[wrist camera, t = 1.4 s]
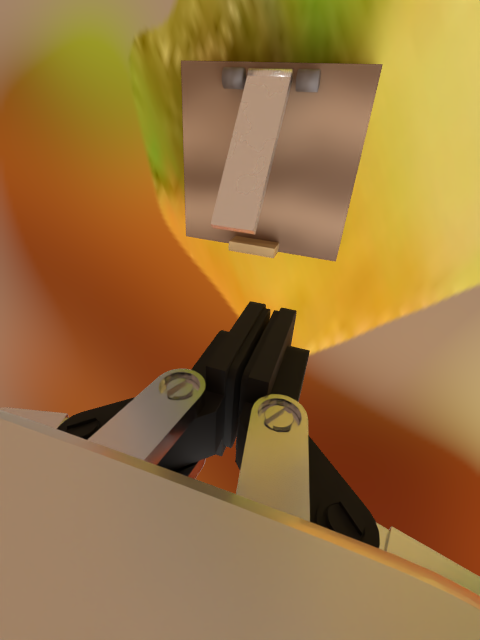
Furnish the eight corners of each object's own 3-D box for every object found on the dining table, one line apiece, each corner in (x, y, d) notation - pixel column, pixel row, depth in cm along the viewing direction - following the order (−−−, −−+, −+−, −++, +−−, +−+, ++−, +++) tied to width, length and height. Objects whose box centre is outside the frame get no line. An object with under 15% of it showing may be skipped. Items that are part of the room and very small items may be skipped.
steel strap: (251, 75, 22) (249, 64, 21) (293, 76, 21) (292, 65, 20) (213, 228, 21) (209, 223, 21) (255, 234, 21) (253, 230, 20)
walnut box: (208, 72, 27) (168, 55, 21) (378, 77, 23) (384, 58, 18) (207, 224, 34) (176, 241, 28) (339, 244, 30) (334, 268, 25)
